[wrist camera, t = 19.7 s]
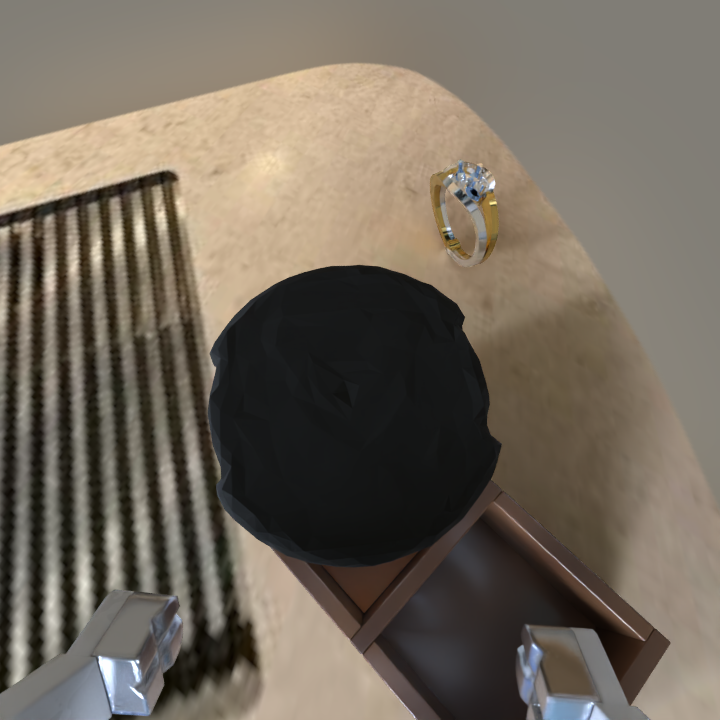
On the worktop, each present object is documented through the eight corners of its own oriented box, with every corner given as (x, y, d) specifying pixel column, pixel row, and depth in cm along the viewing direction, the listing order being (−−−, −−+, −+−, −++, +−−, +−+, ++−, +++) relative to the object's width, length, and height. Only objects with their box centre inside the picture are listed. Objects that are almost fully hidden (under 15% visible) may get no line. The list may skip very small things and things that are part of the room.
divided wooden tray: (609, 625, 25) (671, 642, 20) (496, 788, 23) (533, 858, 17) (363, 395, 31) (361, 361, 26) (250, 503, 29) (222, 491, 23)
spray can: (408, 438, 29) (464, 232, 11) (431, 552, 26) (558, 539, 8) (304, 455, 29) (180, 273, 10) (316, 571, 26) (176, 602, 8)
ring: (489, 279, 35) (520, 205, 27) (451, 292, 34) (472, 220, 27) (451, 213, 37) (470, 128, 30) (415, 224, 37) (425, 141, 30)
